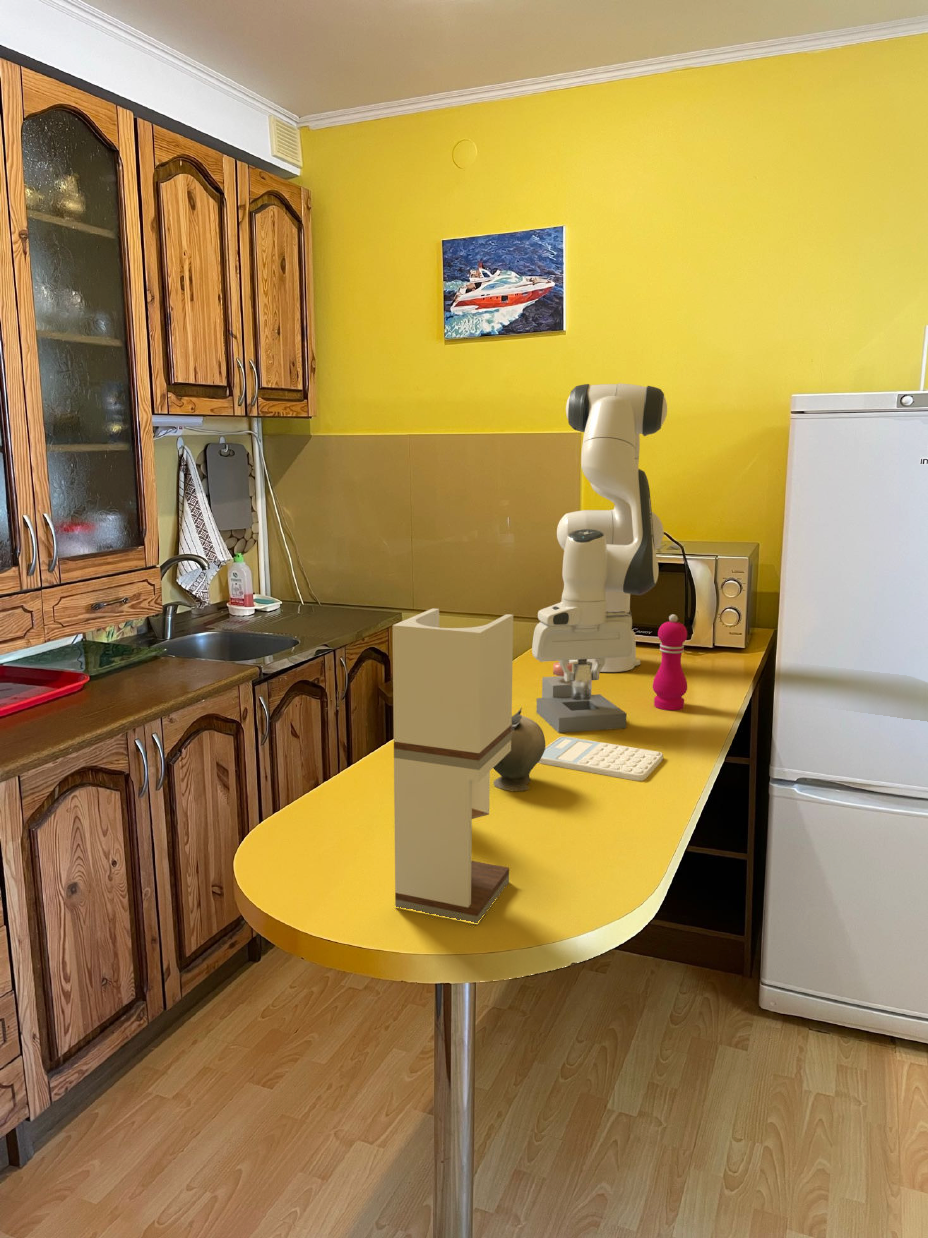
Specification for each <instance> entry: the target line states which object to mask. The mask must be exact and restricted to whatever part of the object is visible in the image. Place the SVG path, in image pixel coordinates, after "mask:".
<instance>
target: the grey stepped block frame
mask: <svg viewBox="0 0 928 1238" xmlns="http://www.w3.org/2000/svg"><path fill="white" fill-rule="evenodd" d="M541 682H542V689H541V690H542V691H541V692H542V693H541V697H539V698H537V697H536V713H537V715H539V716H540V717H541V718H542V719H544V720H545V722H546V723H547V724H548V725H549V726H551V727H552V728H553V729H554V730H555V731H556V732H557V733H559V734H560V733H562V734H563V733H573V732H574V733H576V732H591V731H602V730H603V731H604V730H616V729H626V728H627V712H625V711H624V710H623V709H621V708H620V707H619V706H617V705H616V704H614V703H613V702H611V701H610V700H608V699H607V698H606V697H604V696H603V695H602V694H597V693H596V694H591V699H590V700H584V701H581V700H574V699H572V698H571V687H572V681H571V682H566V681H565V680H564V676H557V675H555V676H543V677H542V680H541Z"/></svg>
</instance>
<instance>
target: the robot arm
mask: <svg viewBox="0 0 928 1238" xmlns="http://www.w3.org/2000/svg"><path fill="white" fill-rule="evenodd" d="M665 397H666V396H665V393H664V392H663V390H662V389H661V388H659V387H656V386H653V385H652V386H651V385H647V386H643V385H637V384H630V383H621V382H619V383H617V384H615V383H601V384H589V383H583V384H580V385H576V386H575V387H573V389H572V390H571V391H570V394H569V396H568V398H567V400H566V403H565V404H566V405H565V414H566V419H567V420H568V425H569V426H570V427H571V428H572V429H573V430H574V431H578V432H580V433H583V439H582V444H581V445H582V446H581V453H580V454H581V455H580V464H581V465H580V466H581V467H580V468H581V471H582V474H583V475H584V477H585V478H586V479H587V481H588V482H589V483H590V486H591V488H592V490H593V491H594V492H595V493H596V494H597V495H599V496H600V497H602V498H605V499H607V500H608V501H610V502H612V503H613V504H614V507H613V509H609V510H608V509H605V510H603V509H583V510H576V511H571V512H566V513H565V514H564V515H563V516H562V517H561V518H560V520H559V522H558V523H557V529H556V538H557V541H558V544H559V546H560V548H561V549H562V550H563V557H562V571H561V572H562V574H561V575H562V581H563V590H562V594H561V601H560V602H558V603H555V604H553V605H550V606H547V607H544V608H541V609H540V610H538V612H537V619H538V620H539V623H537V624H536V626H535V628H534V631H533V637H532V646H531V651H532V656H533V657H534V659H536V660H537V661H539V662H541V663H543V662H559V664H560V666H561V668H562V669H563V671H564V680H565V681H566V682H571V681H574V678H573V677H574V673H573V672H571V671H569V670H568V668H567V666H566V665H569V663H572V662H574V661H578V660H581V659H587V661H589V662H591V663H592V681H599V680H600V673H601V672H602V673H619V672H626V671H629V670H633V669H634V668H635V667H636V666H639V665H641V659H638V658H637V656H636V655H637V647H636V633H635V632H634V630H633V629H632V628H633V619H632V617H633V616H632V611H631V608H630V607H631V595H634V596H635V595H636V596H642V595H644V594H646V593H648V592H649V591H650V590H652V589H653V588H654V587H655V586H656V585H657V582H658V578H659V563H658V562H659V561H658V558H657V557H658V556H657V553H656V550H658V548H659V547H660V546H661V544H662V542H663V538H664V532H665V531H664V526H663V523H662V520H661V519H660V517H659V516H658V515H657V514H656V513H654V512H653V510H652V500H651V490H650V484H649V479H648V476H647V474H646V472H645V471H644V470H642V469H640V468H639V462H640V442H641V439H640V438H641V437H640V434H641V435H642V436H643V437H647V436H649V435H653V434H655V433H658V431H660V430H661V429H662V426H663V424H665V423H664V422H665V421H666V418H667V415H668V403H667V399H666V398H665Z"/></svg>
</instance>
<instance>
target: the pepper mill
mask: <svg viewBox="0 0 928 1238" xmlns="http://www.w3.org/2000/svg"><path fill="white" fill-rule="evenodd" d="M668 619H669V621H666V622H663V623H661V625H660V626H659V628H658V631H657V637H658V639H659V640H660V644H659V651H660V652H661V662H660V666H659V668H658V670H657V672H656V674H655V676H654V678H653V681H652V689H653V692H654V693H655V694H656V695H655V696H654V699H653V706H654V707H655V708H656V709H660V710H664V711H678V710H679V711H680V710H682V709H684V707H685V698H684V697H683V696H684V695H686V693H687V691H688V682H687V678H686V676H685V674H684V671H683V667H682V654H683V653H684V651H685V650H684V647H685V645H684V644H683V643H684V642H685V641H686V640H687V638H688V630H687V627H686V626H685V625H684V624H683V623H681V622H678V620H679V618H678V616H677V615H676V614H670V615H669V616H668Z"/></svg>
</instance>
